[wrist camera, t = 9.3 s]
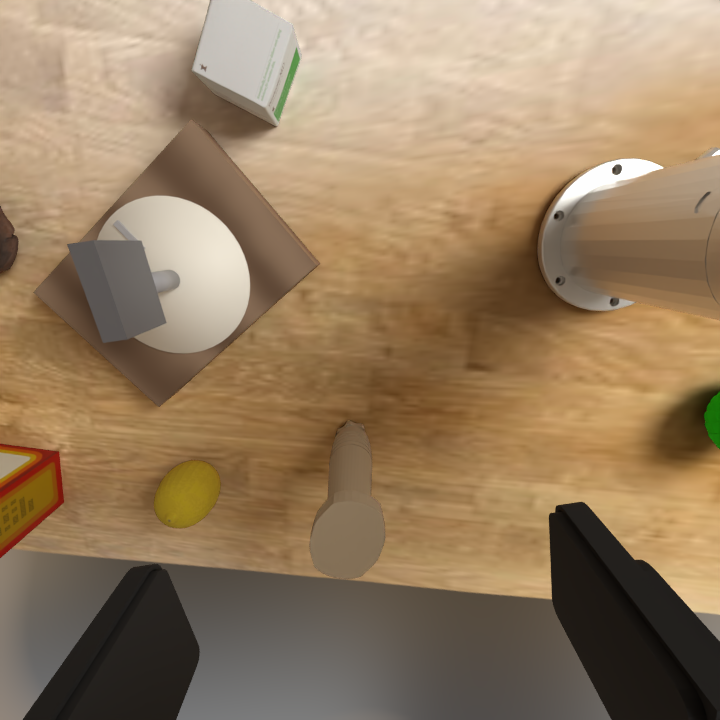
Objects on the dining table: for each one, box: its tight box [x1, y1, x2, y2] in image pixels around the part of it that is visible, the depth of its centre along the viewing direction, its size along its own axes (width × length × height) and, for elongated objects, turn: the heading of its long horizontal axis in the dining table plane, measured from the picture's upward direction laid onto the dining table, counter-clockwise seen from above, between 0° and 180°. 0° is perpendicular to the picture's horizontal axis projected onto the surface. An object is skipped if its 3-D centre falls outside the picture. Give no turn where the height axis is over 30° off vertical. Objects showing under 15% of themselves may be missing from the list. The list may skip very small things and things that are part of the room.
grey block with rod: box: [67, 240, 180, 343], centre depth 27 cm, size 6×7×9 cm
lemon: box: [154, 460, 221, 528], centre depth 37 cm, size 6×6×8 cm
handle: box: [310, 421, 385, 579], centre depth 32 cm, size 5×6×15 cm
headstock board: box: [33, 119, 320, 407], centre depth 33 cm, size 20×14×3 cm
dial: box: [97, 196, 250, 353], centre depth 32 cm, size 13×13×1 cm
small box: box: [192, 0, 302, 127], centre depth 28 cm, size 6×6×5 cm
